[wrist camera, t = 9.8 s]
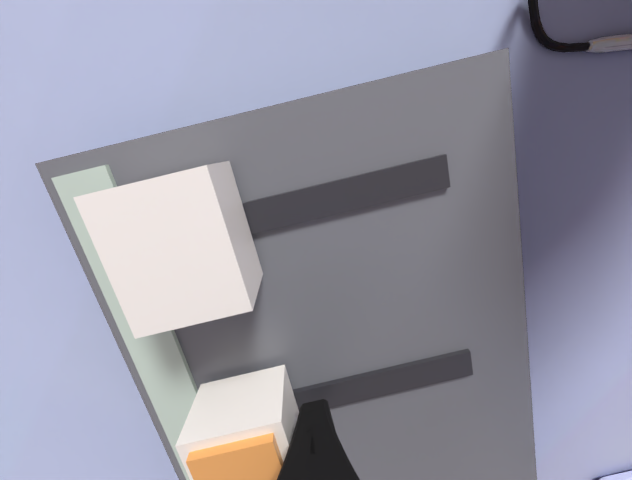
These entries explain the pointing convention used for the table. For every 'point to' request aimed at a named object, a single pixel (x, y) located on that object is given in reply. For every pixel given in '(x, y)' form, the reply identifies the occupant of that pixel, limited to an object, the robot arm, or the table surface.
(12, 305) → the table surface
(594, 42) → the multimeter
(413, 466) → the breaker panel
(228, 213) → the lever
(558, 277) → the table surface
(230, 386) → the lever
